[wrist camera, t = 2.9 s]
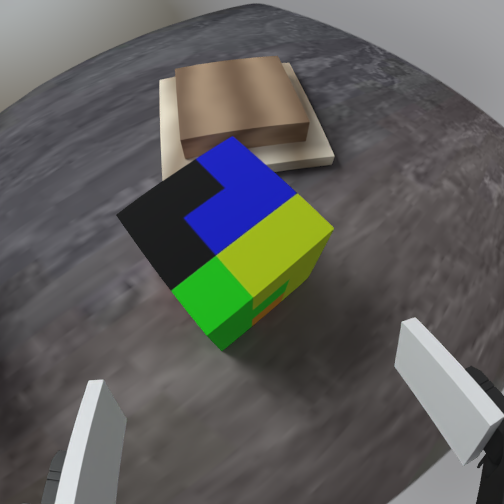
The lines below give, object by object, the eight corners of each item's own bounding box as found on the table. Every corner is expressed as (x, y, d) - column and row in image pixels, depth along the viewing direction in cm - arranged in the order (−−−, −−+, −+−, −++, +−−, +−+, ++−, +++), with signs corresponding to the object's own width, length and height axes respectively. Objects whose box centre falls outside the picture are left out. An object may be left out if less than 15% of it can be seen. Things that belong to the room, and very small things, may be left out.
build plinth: (166, 190, 32) (155, 164, 28) (161, 88, 39) (155, 63, 35) (331, 164, 34) (340, 137, 30) (288, 70, 40) (290, 46, 36)
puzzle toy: (236, 204, 32) (232, 135, 22) (307, 278, 29) (334, 228, 20) (154, 266, 29) (116, 214, 20) (222, 351, 26) (206, 335, 17)
